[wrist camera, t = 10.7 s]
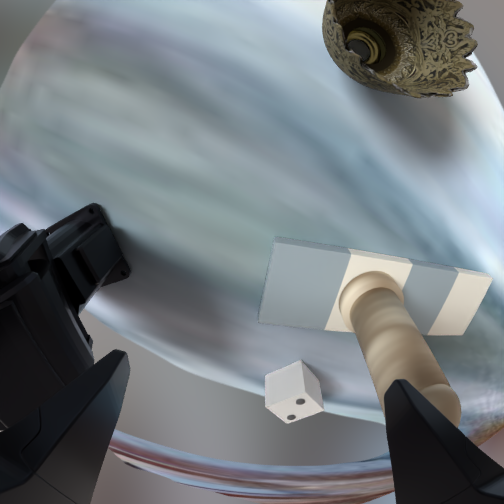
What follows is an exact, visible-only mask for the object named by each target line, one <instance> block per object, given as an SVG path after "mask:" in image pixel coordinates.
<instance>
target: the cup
mask: <svg viewBox="0 0 504 504" xmlns="http://www.w3.org/2000/svg"><path fill="white" fill-rule="evenodd" d="M461 9H463V5H462V4H461V3H460V2H459V1H456V0H327V2H326V6H325V10H324V15H323V23H322V32H323V38H324V42H325V45H326V48H327V50H328V52H329V54H330V56H331V58H332V59H333V61H334V62H335V63H336V65H337V66H338V67H339V68H340V69H341V70H342V71H343V72H344V73H345V74H346V75H348V76H349V77H350V78H352V79H353V80H355V81H357V82H358V83H360V84H362V85H364V86H366V87H369V88H372V89H375V90H379V91H382V92H388V93H393V94H400V95H406V96H412V97H415V98H421V97H426V98H431V97H434V96H437V97H450V96H453V94H452V92H456V91H461V90H465V89H467V88H468V86H469V82H468V78H467V76H466V73H467V72H472V71H473V70H475V69H477V65H476V64H474V63H473V61H472V60H468V59H466V57H468V56H470V55H472V52H473V51H474V49H475V48H476V47H477V45H478V44H477V41H476V40H474V39H471V37H470V36H471V35H472V32H473V30H474V26H473V25H472V24H471V23H470V22H468V21H466V20H464V19H462V18H458V17H456V15H457V13H458V12H459V11H460V10H461ZM355 39H358V40H361V41H363V42H365V43H366V44H367V45H368V47H369V49H370V56H369V58H368V59H367V60H365V61H363V59H362V57H361V56H359V55H358V54H356V53H355V52H354V51H353V50H352V49H351V48H349V47H348V43H349V42H350V41H351V40H355Z"/></svg>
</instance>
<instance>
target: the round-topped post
mask: <svg viewBox="0 0 504 504" xmlns="http://www.w3.org/2000/svg"><path fill="white" fill-rule="evenodd" d="M403 305H404V295H403V292H402V290H401V289H400V288H399V286H398V285H397V283H396V282H395V280H394V279H393V278H392V277H391V276H390V275H389V274H387V273H385V272H382V271H369V272H365V273H362V274H360V275H358V276H356V277H355V278H353V279H352V280H351V281H350V282H349V283H348V284H347V285H346V286H345V287H344V289H343V290H342V292H341V295H340V298H339V310H340V313H341V315H342V318H343V321H344V323H345V325H346V327H347V328H348V329H349V330H350V331H352V332H353V333H355V334H356V336H357V339H358V342H359V344H360V347H361V350H362V352H363V355H364V358H365V361H366V363H367V366H368V369H369V372H370V375H371V378H372V380H373V383H374V386H375V389H376V392H377V395H378V398H379V401H380V404H381V407H382V410H383V414H384V417H385V408H384V394H385V392H386V391H387V389H388V388H389V386H390V385H391V384H392V382H393V381H394V380H395V379H406V380H407V381H408V382H409V383H410V384H411V385H413V386H414V387H415V388H416V389H417V390H418V391H419V392H420V393H421V394H422V395H423V396H424V397H425V398H426V399H427V400H428V401H429V402H431V403H432V404H433V405H434V406H435V407H436V408H437V409H438V410H439V411H440V412H441V413H442V414H443V415H444V416H445V417H446V418H447V419H448V420H449V421H451V422H452V423H453V424H454V425H455V426H456V427H457V428H458V426H459V423H460V419H461V405H460V401H459V398H458V396H457V395H456V393H455V392H454V391H453V390H452V389H451V387H450V385H449V383H448V381H447V379H446V377H445V375H444V373H443V372H442V370H441V368H440V366H439V364H438V362H437V361H436V359H435V357H434V355H433V354H432V352H431V350H430V348H429V347H428V345H427V343H426V341H425V340H424V338H423V336H422V335H421V333H420V331H419V330H418V328H417V326H416V325H415V323H414V321H413V320H412V318H411V317H410V315H409V313H408V312H407V310H406V309H405V307H404V306H403Z"/></svg>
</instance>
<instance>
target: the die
mask: <svg viewBox="0 0 504 504" xmlns="http://www.w3.org/2000/svg"><path fill="white" fill-rule="evenodd" d="M265 407H266V408H267V409H269V410H270V411H271V412H272V413H274V414H275V415H276V416H278V417H279V418H280V419H282V420H283V421H284V422H286V423H287V424H288V423H291V422H294V421H297V420H300V419H302V418H305V417H308V416H311V415H313V414H316V413H319V412H321V411H324V406H323V400H322V395H321V389H320V384H319V380H318V378H317V377H316V376H315V375H314V374H313V373H312V372H311V371H310V369H309V368H308V367H307V366H306V365H305V364H304V363H303V362H302V360H299V361H297V362H294V363H292V364H290V365H288V366H285V367H283V368H281V369H278V370H276V371H274V372H271V373H269V374H266V375H265Z"/></svg>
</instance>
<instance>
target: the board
mask: <svg viewBox="0 0 504 504" xmlns="http://www.w3.org/2000/svg"><path fill="white" fill-rule="evenodd" d="M369 271H382V272H385V273H387V274H389V275H390V276H391V277H392V278H393V279H394V280H395V282H396V283H397V285H398V286H399V288H400V289H401V290H402V292H403V295H404V305H403V306H404V307H405V309H406V310H407V312H408V313H409V315H410V317H411V318H412V320H413V321H414V323H415V325H416V326H417V328H418V330H419V331H420V333H421V335H463V333H464V332H465V330H466V328H467V327H468V325H469V323H470V322H471V320H472V318H473V316H474V314H475V313H476V311H477V309H478V307H479V305H480V303H481V301H482V300H483V298H484V296H485V294H486V292H487V290H488V288H489V286H490V283H491V281H492V279H493V278H492V277H490V276H489V275H488V274H487V273H482V272H477V271H472V270H466V269H461V268H456V267H451V266H445V265H440V264H435V263H429V262H424V261H418V260H413V259H407V258H401V257H396V256H390V255H384V254H379V253H373V252H367V251H361V250H355V249H349V248H343V247H337V246H331V245H325V244H319V243H313V242H307V241H301V240H294V239H288V238H282V237H275V236H274V241H273V246H272V251H271V256H270V260H269V265H268V270H267V275H266V280H265V284H264V289H263V294H262V299H261V303H260V308H259V312H258V323H261V324H269V325H278V326H287V327H297V328H307V329H318V330H329V331H342V332H352V331H350V330H349V329H348V328H347V327H346V325H345V323H344V321H343V318H342V315H341V313H340V310H339V298H340V295H341V292H342V290H343V289H344V287H345V286H346V285H347V284H348V283H349V282H350V281H351V280H352V279H353V278H355V277H356V276H358V275H360V274H362V273H365V272H369Z"/></svg>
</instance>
